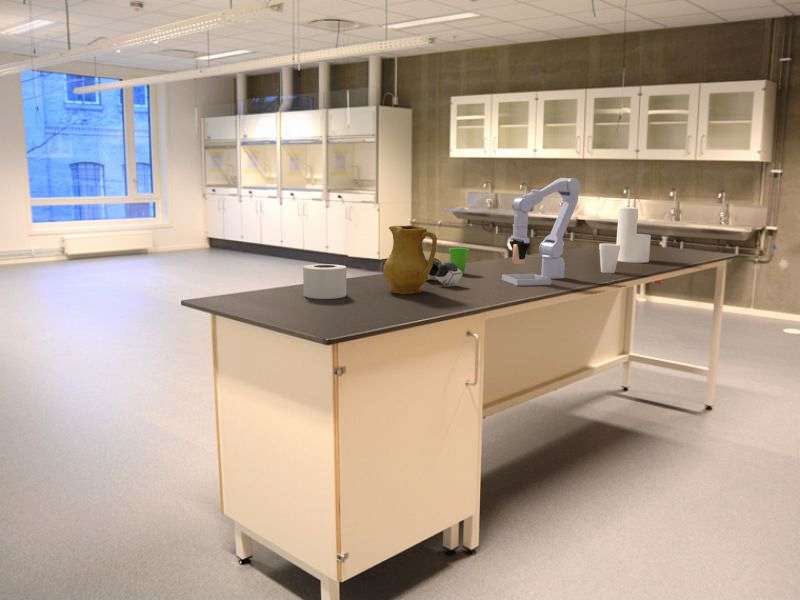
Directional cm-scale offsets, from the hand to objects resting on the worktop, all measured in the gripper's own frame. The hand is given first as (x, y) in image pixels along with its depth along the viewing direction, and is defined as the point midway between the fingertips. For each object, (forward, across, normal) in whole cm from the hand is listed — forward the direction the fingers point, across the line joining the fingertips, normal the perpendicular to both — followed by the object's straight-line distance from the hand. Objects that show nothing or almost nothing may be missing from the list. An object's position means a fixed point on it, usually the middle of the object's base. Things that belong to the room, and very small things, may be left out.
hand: (519, 258), depth 314 cm
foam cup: (+9, -17, +53) cm, 57 cm away
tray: (+9, +9, 0) cm, 13 cm away
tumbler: (+2, 0, 0) cm, 2 cm away
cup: (+9, -21, -20) cm, 30 cm away
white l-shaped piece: (+9, -57, +92) cm, 109 cm away
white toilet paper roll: (+10, +28, -88) cm, 93 cm away
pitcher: (+9, +25, -56) cm, 62 cm away
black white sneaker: (+9, +5, -37) cm, 38 cm away
